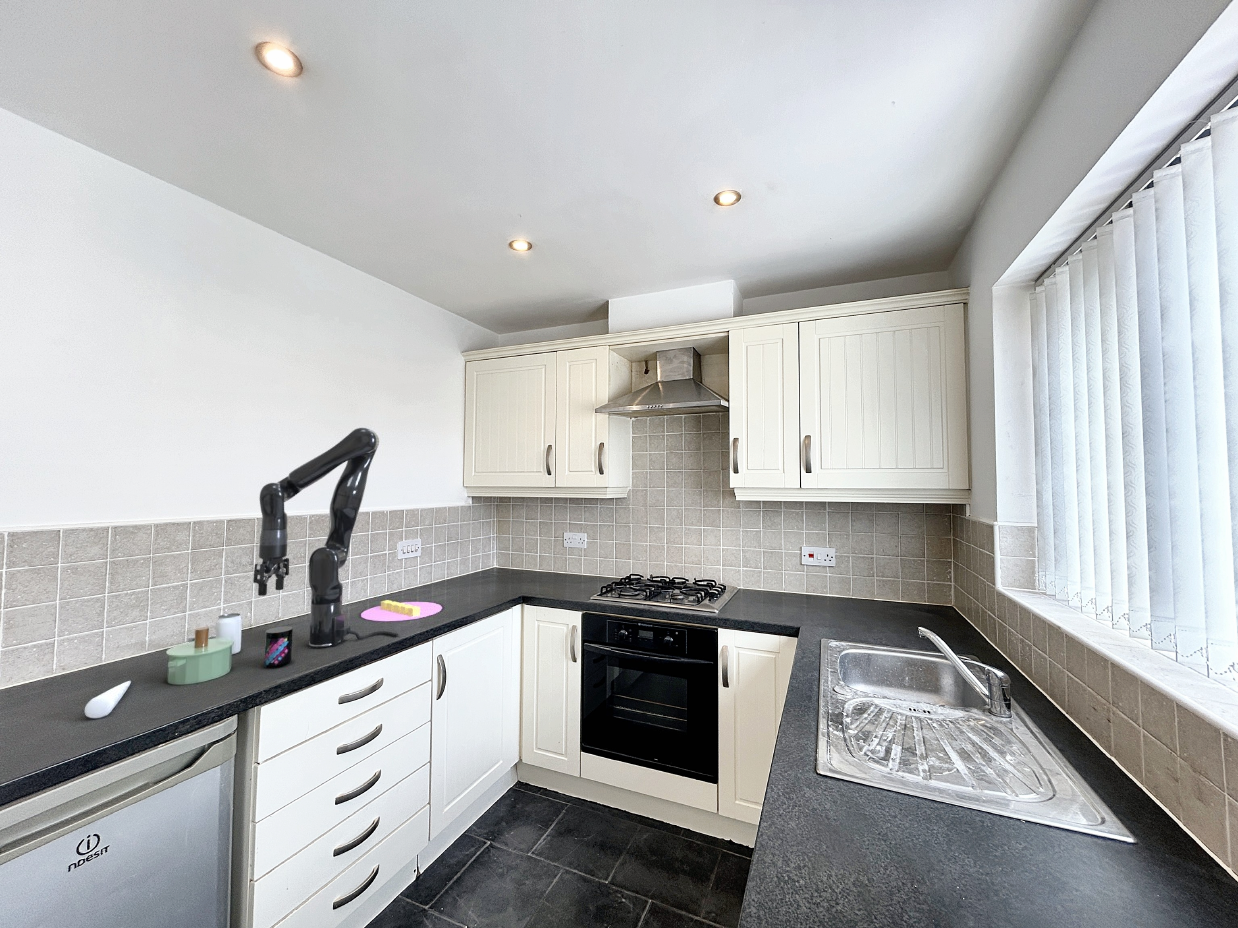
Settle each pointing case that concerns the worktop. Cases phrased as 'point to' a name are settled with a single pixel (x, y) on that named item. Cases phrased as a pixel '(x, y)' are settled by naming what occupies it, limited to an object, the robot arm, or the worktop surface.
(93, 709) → the unicorn horn
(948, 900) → the worktop surface
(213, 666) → the pan
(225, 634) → the can
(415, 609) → the platter
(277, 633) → the supplement container
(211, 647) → the pan lid
